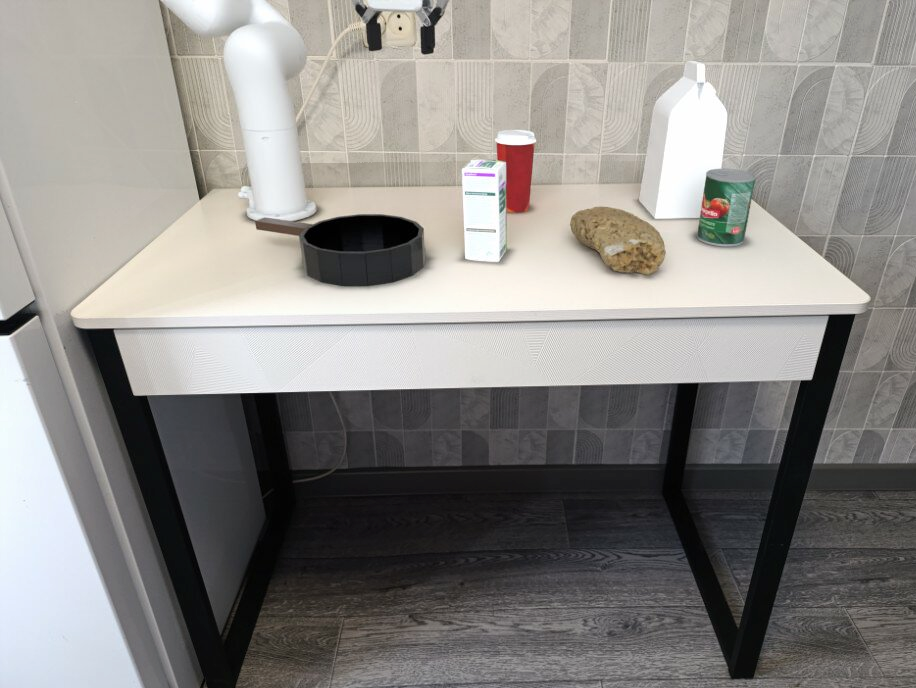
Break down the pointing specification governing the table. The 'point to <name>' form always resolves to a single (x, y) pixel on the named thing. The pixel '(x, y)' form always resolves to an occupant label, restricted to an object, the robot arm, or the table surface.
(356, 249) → the pan
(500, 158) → the paper cup
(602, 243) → the sponge
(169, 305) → the table surface
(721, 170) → the canned tomato
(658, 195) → the milk
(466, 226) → the syrup box
